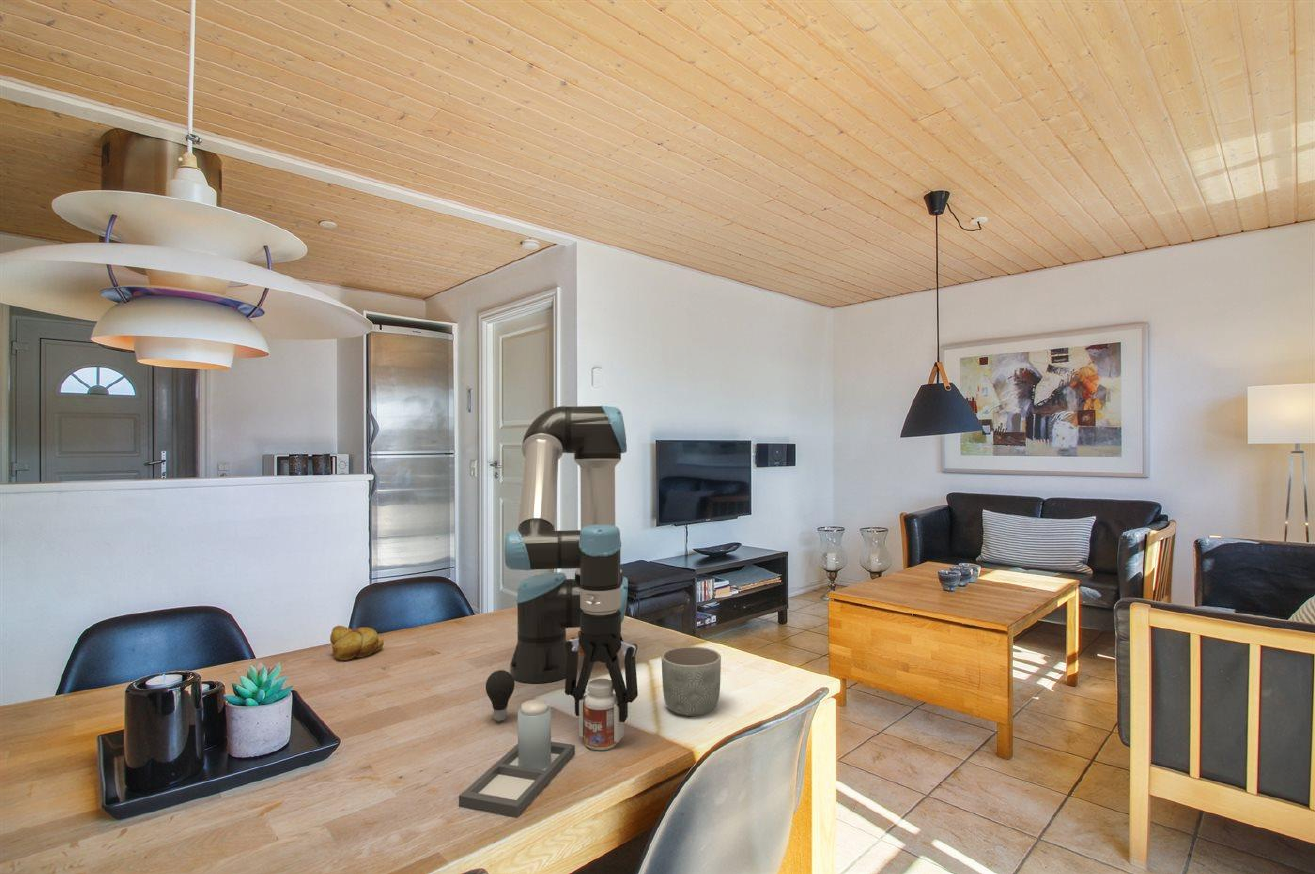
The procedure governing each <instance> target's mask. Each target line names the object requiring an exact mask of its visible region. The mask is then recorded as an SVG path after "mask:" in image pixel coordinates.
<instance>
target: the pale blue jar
mask: <svg viewBox="0 0 1315 874" xmlns="http://www.w3.org/2000/svg"><path fill="white" fill-rule="evenodd" d="M517 710H518V711H517V744H518V766H520V767H526V768H533V769H539V770H543V769H545V768H547V767H548V766H549V765H550V764H551V742H552V708H551V707H550V706H549V705H548V702H547V701H546V700H543V699H530V700H526V701H524V702H523V703H522V704H521V706H520V708H519V709H517Z"/></svg>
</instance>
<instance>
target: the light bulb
mask: <svg viewBox="0 0 1315 874" xmlns="http://www.w3.org/2000/svg"><path fill="white" fill-rule="evenodd" d="M514 690H515V679H513V677H512V675H511V674H510V671H506V670H503V669H500V670H498V669H497V670H495V671H494V672H492V673H491V674H490V675H489V676H488V678H487V680H486V682H485V692H486V695H487V697H488V698H489V699H490V702H491V705H492V709H493V719H494V720H495V721H497V722H498V723H502V722H503V721H504V720H505V719H506V718H507V715H508V711H507V709H508V705H509V702H510V699H511V697H512V694H513V692H514Z"/></svg>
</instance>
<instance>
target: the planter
mask: <svg viewBox="0 0 1315 874" xmlns="http://www.w3.org/2000/svg"><path fill="white" fill-rule="evenodd" d="M721 666H722V656H721V653H720V652H718V651H716V650H715V649H712V648H708V647H702V646H691V645H690V646H688V645H687V646H679V647H674V648H669V649H668V650H665V651H664V652H663V653H662V654H661V673H662V674H661V677H662V692H663V699H664V703H665V705H666V707H667V708H668V709H669V710H670V711H672V712H673V713H675V714H678V715H682V716H688V717H698V716H703V715H706V714H709V713H711V712H712V711H714V710H715V709H716V708H717V705H718V704H719V699H720V694H721V674H722V673H721V671H722V670H721V669H722V668H721Z"/></svg>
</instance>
